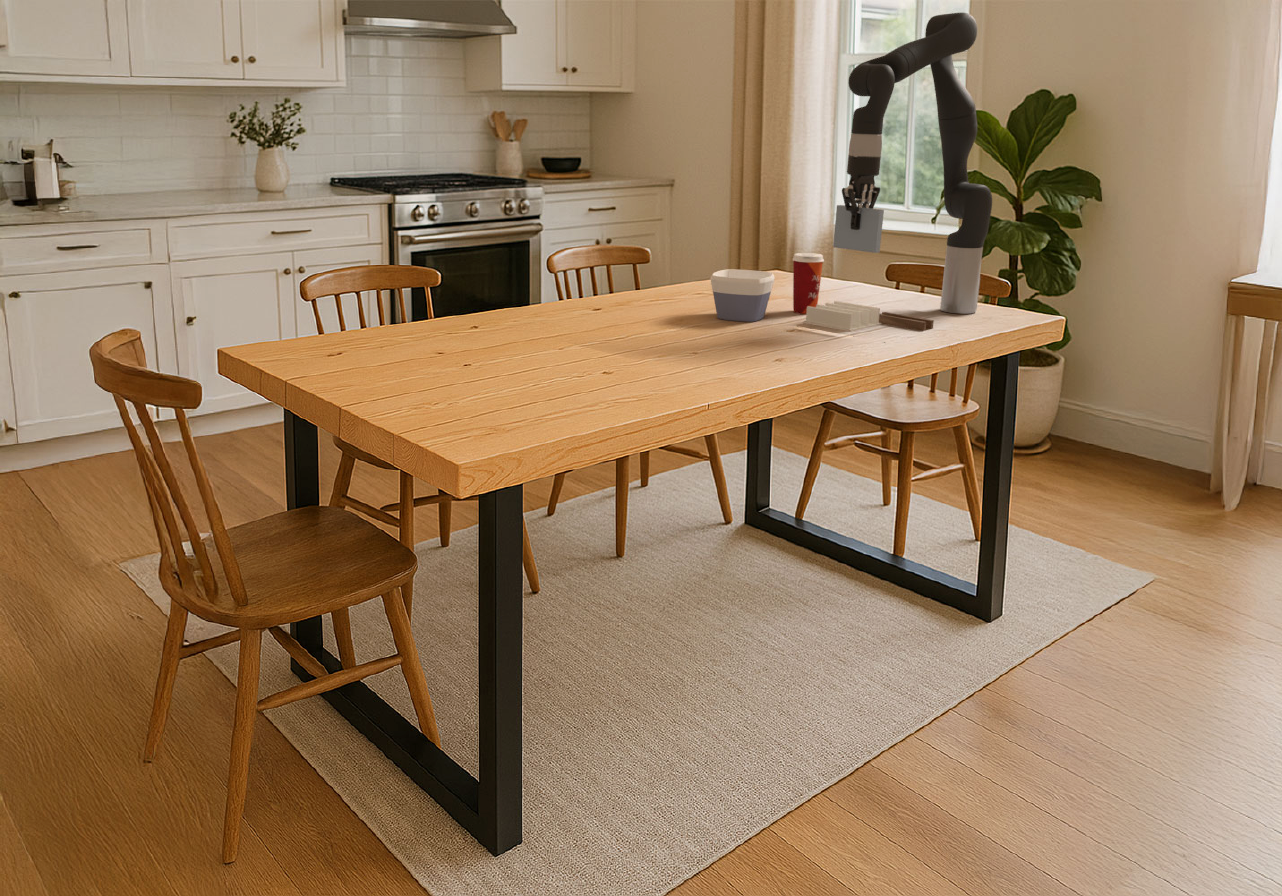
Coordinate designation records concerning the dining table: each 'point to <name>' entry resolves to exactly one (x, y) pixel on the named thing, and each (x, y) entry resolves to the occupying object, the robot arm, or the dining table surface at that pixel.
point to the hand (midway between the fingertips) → (857, 229)
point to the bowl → (741, 294)
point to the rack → (843, 316)
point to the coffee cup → (806, 280)
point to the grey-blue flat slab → (865, 236)
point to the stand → (905, 321)
